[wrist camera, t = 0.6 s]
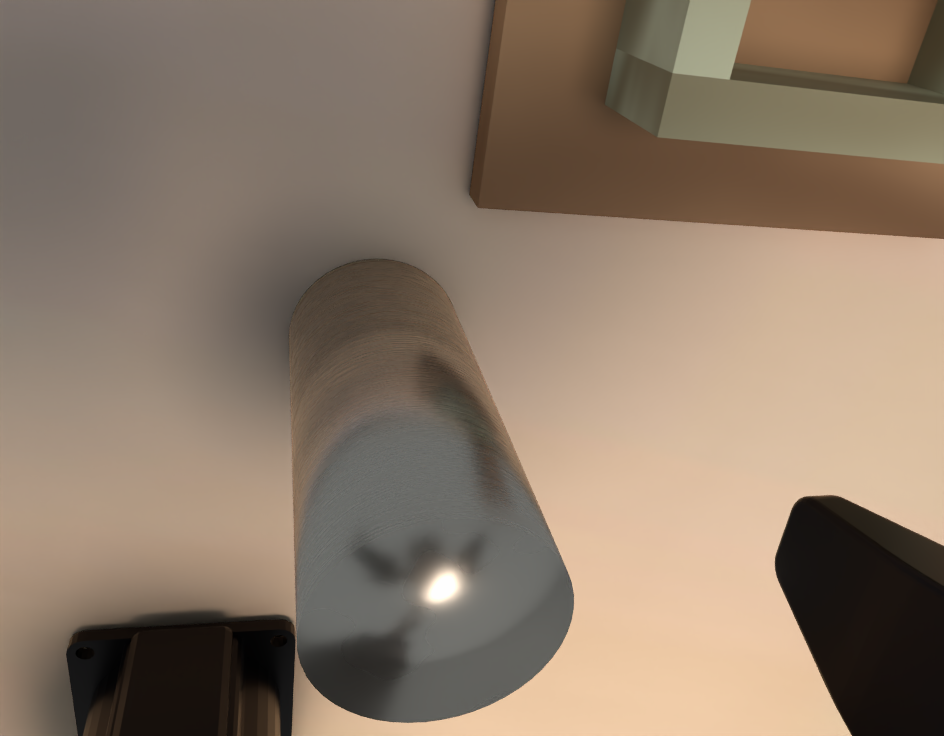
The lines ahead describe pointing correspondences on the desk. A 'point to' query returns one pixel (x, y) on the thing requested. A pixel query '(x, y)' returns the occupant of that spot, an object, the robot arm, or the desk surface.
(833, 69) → the dock board
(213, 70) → the desk surface
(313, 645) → the peg
